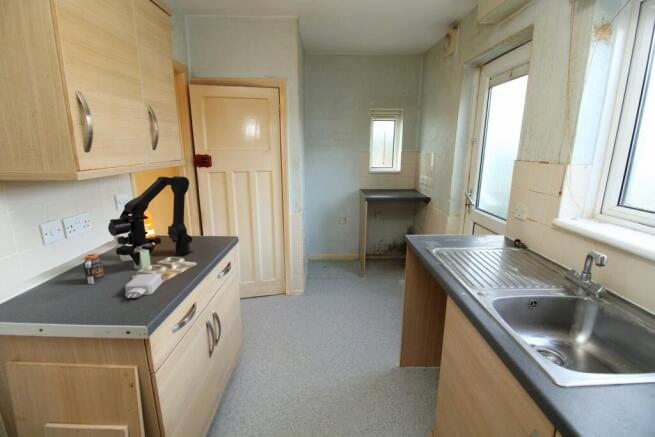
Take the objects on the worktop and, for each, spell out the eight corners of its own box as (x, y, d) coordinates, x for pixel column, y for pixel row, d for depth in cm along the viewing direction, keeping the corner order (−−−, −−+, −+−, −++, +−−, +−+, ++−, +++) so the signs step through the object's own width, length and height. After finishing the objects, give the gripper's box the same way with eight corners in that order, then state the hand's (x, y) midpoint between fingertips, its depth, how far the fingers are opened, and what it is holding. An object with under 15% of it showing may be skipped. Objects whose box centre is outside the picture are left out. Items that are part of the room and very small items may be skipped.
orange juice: (155, 243, 172) (151, 209, 168) (141, 248, 165) (136, 212, 160) (146, 241, 176) (142, 207, 171) (131, 246, 168) (126, 210, 163)
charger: (117, 304, 107) (137, 285, 121) (145, 302, 108) (162, 284, 122) (115, 292, 106) (135, 274, 120) (143, 290, 107) (160, 273, 121)
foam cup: (132, 254, 155) (129, 229, 152) (144, 257, 152) (141, 231, 149) (113, 260, 147) (109, 234, 144) (124, 263, 143) (120, 236, 140)
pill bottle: (95, 285, 121) (90, 258, 118) (82, 283, 122) (77, 257, 119) (108, 278, 126) (104, 253, 124) (96, 277, 128) (91, 252, 125)
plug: (143, 265, 141) (140, 248, 139) (150, 266, 140) (148, 249, 138) (134, 268, 137) (132, 252, 135) (142, 270, 136) (140, 253, 134)
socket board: (170, 260, 147) (169, 255, 146) (196, 264, 143) (196, 258, 142) (131, 278, 127) (131, 272, 126) (161, 283, 123) (160, 276, 122)
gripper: (141, 223, 145) (145, 254, 149) (103, 234, 128) (109, 269, 131) (160, 225, 142) (163, 257, 146) (123, 236, 125) (129, 272, 128)
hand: (142, 263), depth 138 cm, fingers closed on plug, 4 cm apart
